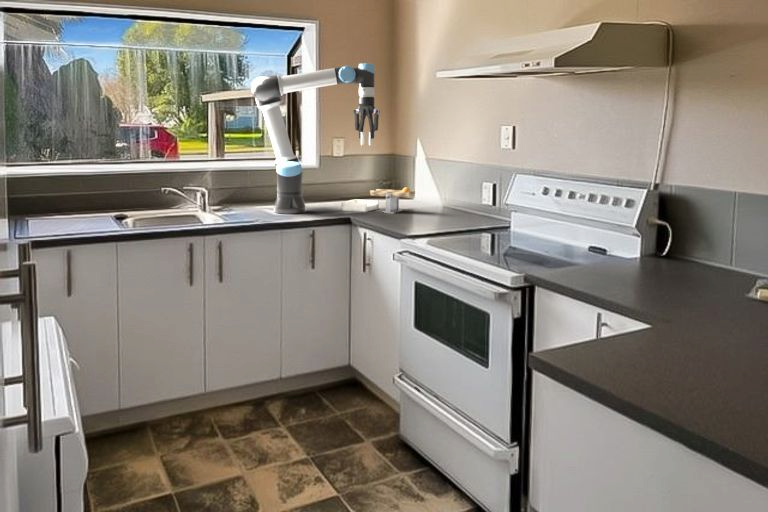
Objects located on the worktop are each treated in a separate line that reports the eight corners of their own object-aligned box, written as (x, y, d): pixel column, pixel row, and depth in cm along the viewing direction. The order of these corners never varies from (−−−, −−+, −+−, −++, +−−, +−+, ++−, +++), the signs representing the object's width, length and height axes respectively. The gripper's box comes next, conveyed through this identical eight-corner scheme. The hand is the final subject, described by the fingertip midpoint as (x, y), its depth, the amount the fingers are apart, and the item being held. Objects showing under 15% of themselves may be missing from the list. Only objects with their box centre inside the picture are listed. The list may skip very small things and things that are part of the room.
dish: (341, 210, 358) (341, 202, 357) (354, 207, 371) (354, 199, 370) (366, 212, 353) (366, 203, 352) (378, 208, 365) (378, 200, 365)
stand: (381, 212, 351) (381, 193, 349) (391, 209, 361) (391, 191, 359) (393, 213, 349) (393, 193, 347) (402, 210, 359) (402, 191, 357)
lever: (369, 195, 354) (369, 190, 354) (381, 192, 367) (381, 187, 366) (408, 197, 346) (408, 192, 346) (419, 194, 359) (420, 189, 358)
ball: (401, 194, 350) (401, 187, 349) (404, 194, 353) (404, 186, 352) (408, 195, 348) (408, 187, 347) (410, 194, 351) (411, 187, 351)
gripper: (347, 96, 360) (347, 145, 364) (379, 96, 353) (378, 146, 358) (354, 96, 367) (354, 144, 371) (385, 96, 360) (385, 145, 364)
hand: (366, 145), depth 364 cm, fingers open, 4 cm apart
